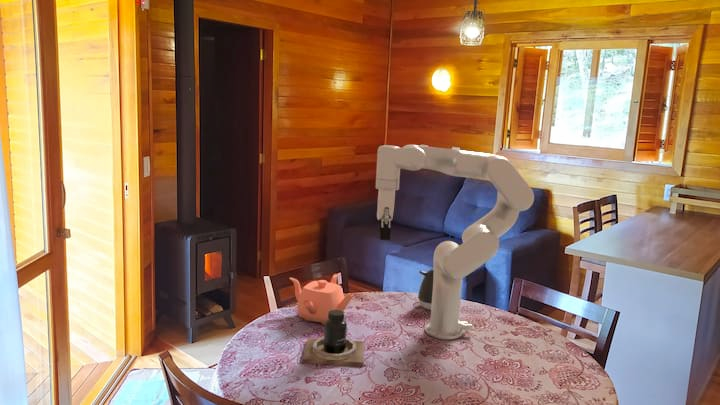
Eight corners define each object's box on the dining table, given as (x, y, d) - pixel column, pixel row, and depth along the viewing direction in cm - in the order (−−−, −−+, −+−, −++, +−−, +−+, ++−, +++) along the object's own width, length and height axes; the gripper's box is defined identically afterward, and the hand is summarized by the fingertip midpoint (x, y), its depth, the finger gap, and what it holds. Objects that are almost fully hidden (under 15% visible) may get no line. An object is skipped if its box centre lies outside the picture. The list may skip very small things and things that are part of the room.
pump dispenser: (416, 301, 210) (419, 264, 207) (443, 303, 209) (446, 266, 206) (416, 311, 200) (419, 272, 197) (445, 313, 199) (448, 274, 196)
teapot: (288, 311, 194) (289, 275, 192) (335, 305, 202) (337, 270, 199) (303, 331, 178) (304, 292, 176) (354, 325, 185) (356, 286, 183)
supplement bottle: (342, 356, 160) (344, 318, 158) (320, 353, 161) (322, 315, 159) (348, 346, 166) (349, 309, 164) (326, 343, 168) (328, 307, 165)
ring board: (364, 344, 170) (364, 336, 170) (363, 366, 157) (363, 357, 156) (307, 341, 171) (307, 334, 170) (302, 362, 157) (302, 354, 156)
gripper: (375, 179, 180) (373, 229, 184) (376, 187, 163) (373, 242, 167) (397, 180, 180) (394, 230, 184) (400, 189, 163) (397, 243, 167)
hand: (384, 235), depth 175 cm, fingers open, 9 cm apart
